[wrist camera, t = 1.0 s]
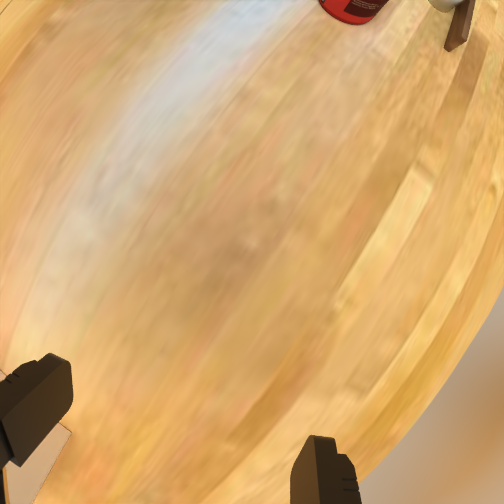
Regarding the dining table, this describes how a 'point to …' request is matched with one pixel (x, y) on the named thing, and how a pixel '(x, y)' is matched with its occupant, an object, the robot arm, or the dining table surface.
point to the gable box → (35, 465)
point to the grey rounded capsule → (444, 4)
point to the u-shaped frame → (460, 24)
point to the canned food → (353, 9)
